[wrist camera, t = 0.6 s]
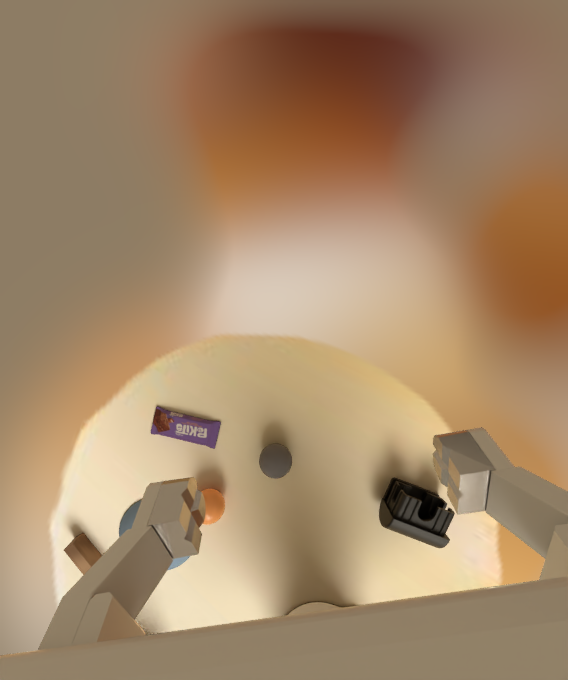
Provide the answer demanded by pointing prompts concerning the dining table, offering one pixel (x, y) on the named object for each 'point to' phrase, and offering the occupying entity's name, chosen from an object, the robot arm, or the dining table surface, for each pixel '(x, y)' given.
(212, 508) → the object ball
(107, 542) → the dining table surface
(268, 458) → the dark gray ball
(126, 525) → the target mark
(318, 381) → the dining table surface
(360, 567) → the dining table surface
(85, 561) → the wall
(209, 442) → the snack package
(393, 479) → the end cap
